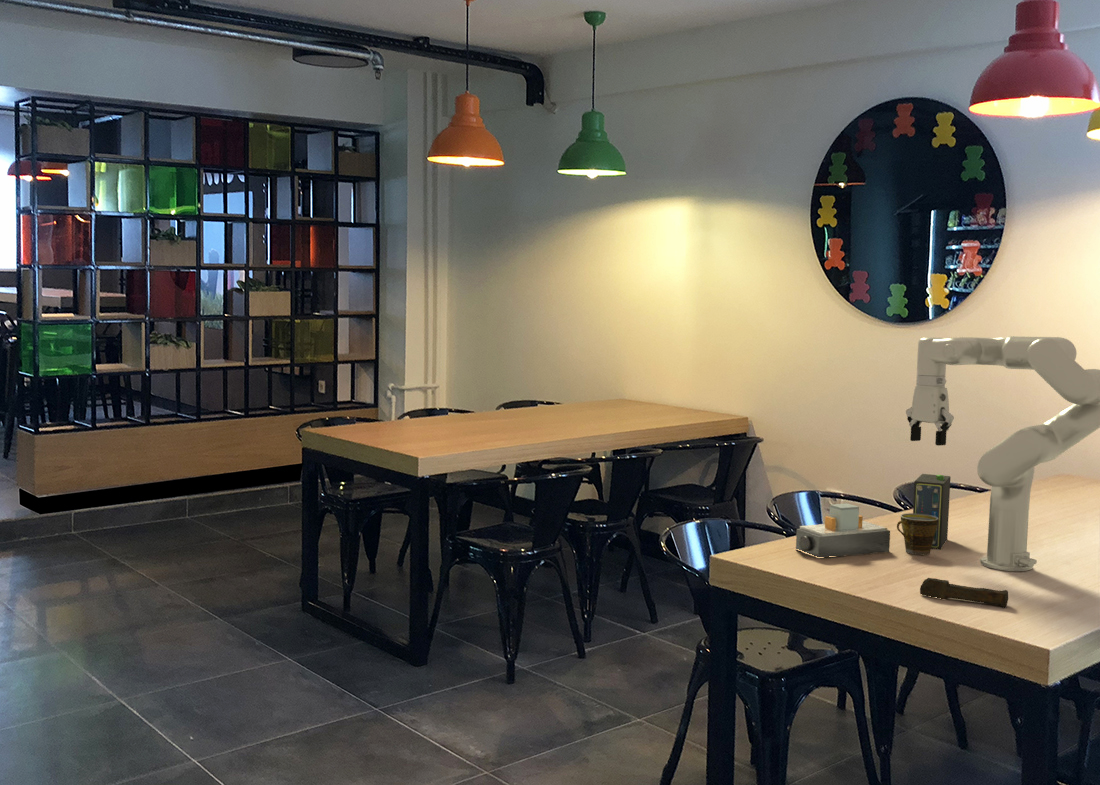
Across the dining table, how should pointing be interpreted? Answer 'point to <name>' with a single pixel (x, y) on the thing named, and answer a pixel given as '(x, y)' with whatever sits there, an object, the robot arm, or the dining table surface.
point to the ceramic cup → (918, 532)
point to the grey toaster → (842, 539)
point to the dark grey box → (933, 503)
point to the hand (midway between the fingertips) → (927, 442)
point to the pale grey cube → (845, 515)
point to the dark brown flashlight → (963, 592)
